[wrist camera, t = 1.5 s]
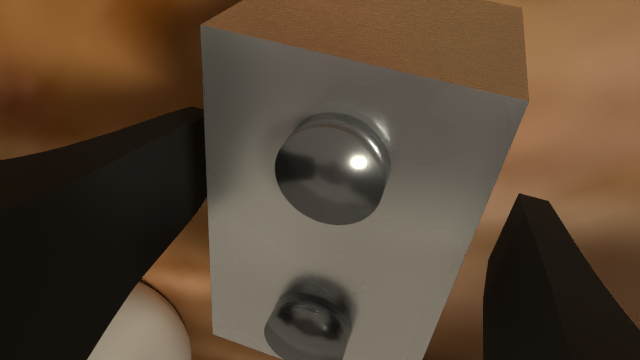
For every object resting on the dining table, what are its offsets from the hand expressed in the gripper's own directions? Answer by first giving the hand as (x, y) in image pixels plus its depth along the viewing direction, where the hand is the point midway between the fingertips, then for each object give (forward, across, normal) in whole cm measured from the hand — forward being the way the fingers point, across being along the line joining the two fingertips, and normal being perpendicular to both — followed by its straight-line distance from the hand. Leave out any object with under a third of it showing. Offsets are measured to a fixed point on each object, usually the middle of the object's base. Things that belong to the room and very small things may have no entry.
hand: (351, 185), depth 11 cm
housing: (+3, 0, 0) cm, 3 cm away
